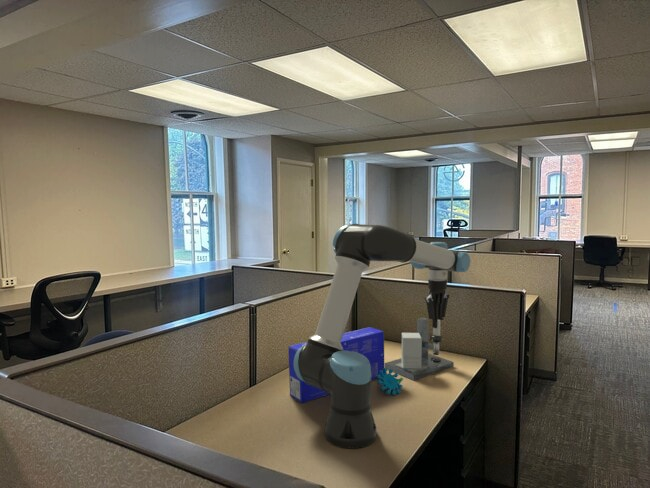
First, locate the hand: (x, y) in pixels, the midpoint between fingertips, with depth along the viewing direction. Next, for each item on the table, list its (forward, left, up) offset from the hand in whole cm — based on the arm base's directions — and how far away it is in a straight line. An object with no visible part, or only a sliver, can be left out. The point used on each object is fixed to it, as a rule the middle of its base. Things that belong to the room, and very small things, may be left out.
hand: (436, 334), depth 179 cm
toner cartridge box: (-46, +7, -13) cm, 48 cm away
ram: (0, 0, -8) cm, 8 cm away
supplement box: (-14, +1, -11) cm, 18 cm away
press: (-8, +2, -13) cm, 15 cm away
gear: (-34, -8, -13) cm, 37 cm away
